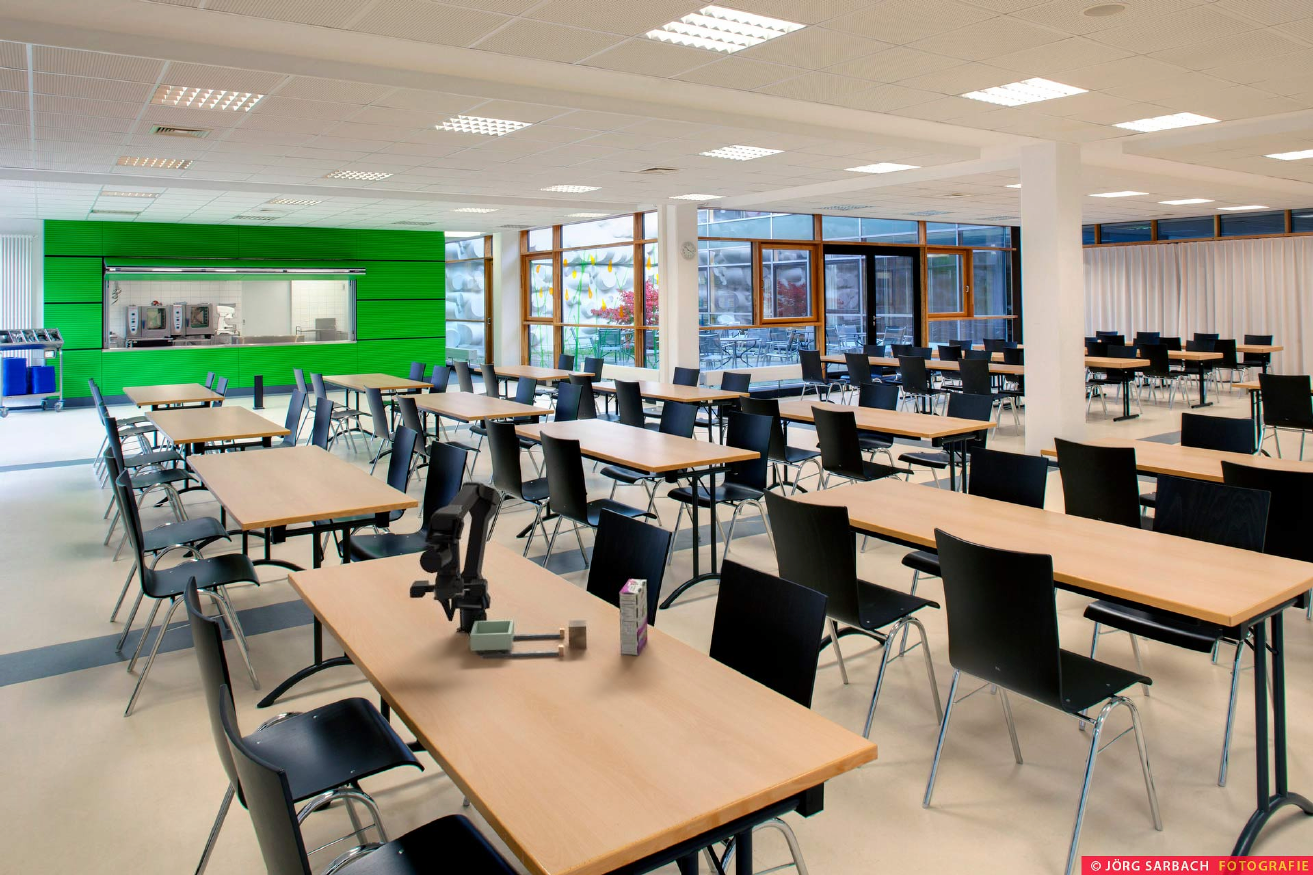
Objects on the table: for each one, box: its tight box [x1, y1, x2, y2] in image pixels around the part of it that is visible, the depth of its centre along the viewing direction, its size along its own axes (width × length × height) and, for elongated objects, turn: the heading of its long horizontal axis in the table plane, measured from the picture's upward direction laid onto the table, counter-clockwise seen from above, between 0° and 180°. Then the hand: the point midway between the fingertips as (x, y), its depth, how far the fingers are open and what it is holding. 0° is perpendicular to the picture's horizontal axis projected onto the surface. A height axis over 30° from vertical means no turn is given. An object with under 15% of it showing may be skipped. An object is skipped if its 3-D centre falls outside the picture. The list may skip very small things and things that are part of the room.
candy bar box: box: [618, 578, 648, 656], centre depth 227 cm, size 11×5×16 cm, turn 168°
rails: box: [481, 627, 566, 660], centre depth 228 cm, size 20×13×2 cm, turn 95°
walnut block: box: [568, 619, 588, 650], centre depth 229 cm, size 4×4×6 cm
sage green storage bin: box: [469, 619, 515, 655], centre depth 227 cm, size 10×10×5 cm
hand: (450, 620), depth 226 cm, fingers closed
